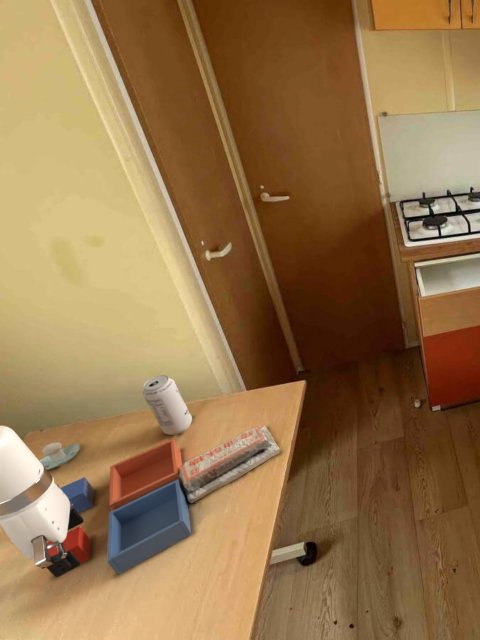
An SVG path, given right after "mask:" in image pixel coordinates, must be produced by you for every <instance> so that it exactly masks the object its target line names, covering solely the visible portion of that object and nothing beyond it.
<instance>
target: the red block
mask: <svg viewBox="0 0 480 640" xmlns="http://www.w3.org/2000/svg"><path fill="white" fill-rule="evenodd" d="M52 543H54V542H52V541H47V546H48V545H50V544H52ZM63 543H64V546H65V549H66V552H67V551H69V550H70V551H71V552H72V553H73V554H74V555H75V557H76V558H77V559H78V560H79V561H80V565H81V564H83V563H84V562H86V561H88V560H90V559H91V544H92V539H91V537H90V536H89V535H88V534H87V532H86V531H84V529H83V528H82V526H81V525H78V526H76V527H74V528H72V529H70V530H68V531H67V536H66V538H65V540H64V541H63ZM48 553H49V555H51V556H54V555H56V554H58V553H59V552H58V549H57V546H54V547H52V548H50V549H48Z"/></svg>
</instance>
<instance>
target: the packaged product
mask: <svg viewBox="0 0 480 640" xmlns="http://www.w3.org/2000/svg"><path fill="white" fill-rule="evenodd" d="M279 454H280V447H279V446H278V444H277V443H276V441H275V439H274V437H273V435H272V433H271V432H270V430H269V429H268V428H267V426H266V425H264V426H262V427H259V426H254V427H252V428H250V429H248V430H246V431H244V432H242V433H240V434H239V435H236V436H235V437H232V438H231V439H228V440H226V441H225V442H223V443H221V444H219V445H217V446H215V447H213V448H211V449H209V450H206V451H205V452H203V453H201V454H199V455H197V456H195V457H193V458H191V459H189V460H187V461H184V462H183V463H182V465H181V468H180V473H179V476H180V479H181V482H182V483H183V485H184V487H183V488H184V490H185V491H186V497H187V502H189V503H190V504H193V503H195V502H196V501H198V500H200V499H202V498H203V497H205V496H206V495H207V496H208V495H209V494H210V493H212V492H214V491H216V490H217V489H220V488H221V487H224V486H225V485H227V484H229V483H232V482H233V481H236V480H237V479H239V478H240V477H242V476H243V475H245V474H246V473H248V472H250V471H251V470H252V469H255V468H257V467H258V466H260V465H262V464H263V463H265V462H267V461H269V460H270V459H272V458H274V457H276V456H277V455H279Z"/></svg>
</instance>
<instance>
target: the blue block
mask: <svg viewBox="0 0 480 640" xmlns="http://www.w3.org/2000/svg"><path fill="white" fill-rule="evenodd" d="M60 489H61V490H62V491H63V492H64V494H66V496H67V498H68V499H69V501H70V502H71V503H72V505H73V508H75V509H76V510H77V512H78V513H79V514H80V513H82V512H83V511H86V510H88V509H90V508H92V507H94V501H95V499H94V498H95V490H94V488H93V486H92V485H91V483H90V482H89V481H88V479H87V478H86V477H85V476H84V477H81V478H78V479H77V480H75V481H72V482H70V483H67V484H66V485H63V486H61V487H60ZM73 508H71V509H73Z"/></svg>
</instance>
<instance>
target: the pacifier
mask: <svg viewBox="0 0 480 640" xmlns="http://www.w3.org/2000/svg"><path fill="white" fill-rule="evenodd" d="M62 445H63V444H62V443H60V442H51V443H49V444H46V445H45V446H44V447H43V448H42V450H41V452H42V454H43V455H45V457H43V458H40V459H38V460H39V461H40V463H41V464H42V465H43V466H44V467H45V468H46V470H47V471H48V470H52V469H55V468H58V467H61V466H63V465H64V464H66V463H68V462H69V461H71V460H72V459H73V458H75V456H76V455H77V454H78V453H79V451H80V444H79V443H72V444H69V445H68V446H65V447H63V446H62ZM62 447H63V448H62Z"/></svg>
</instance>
